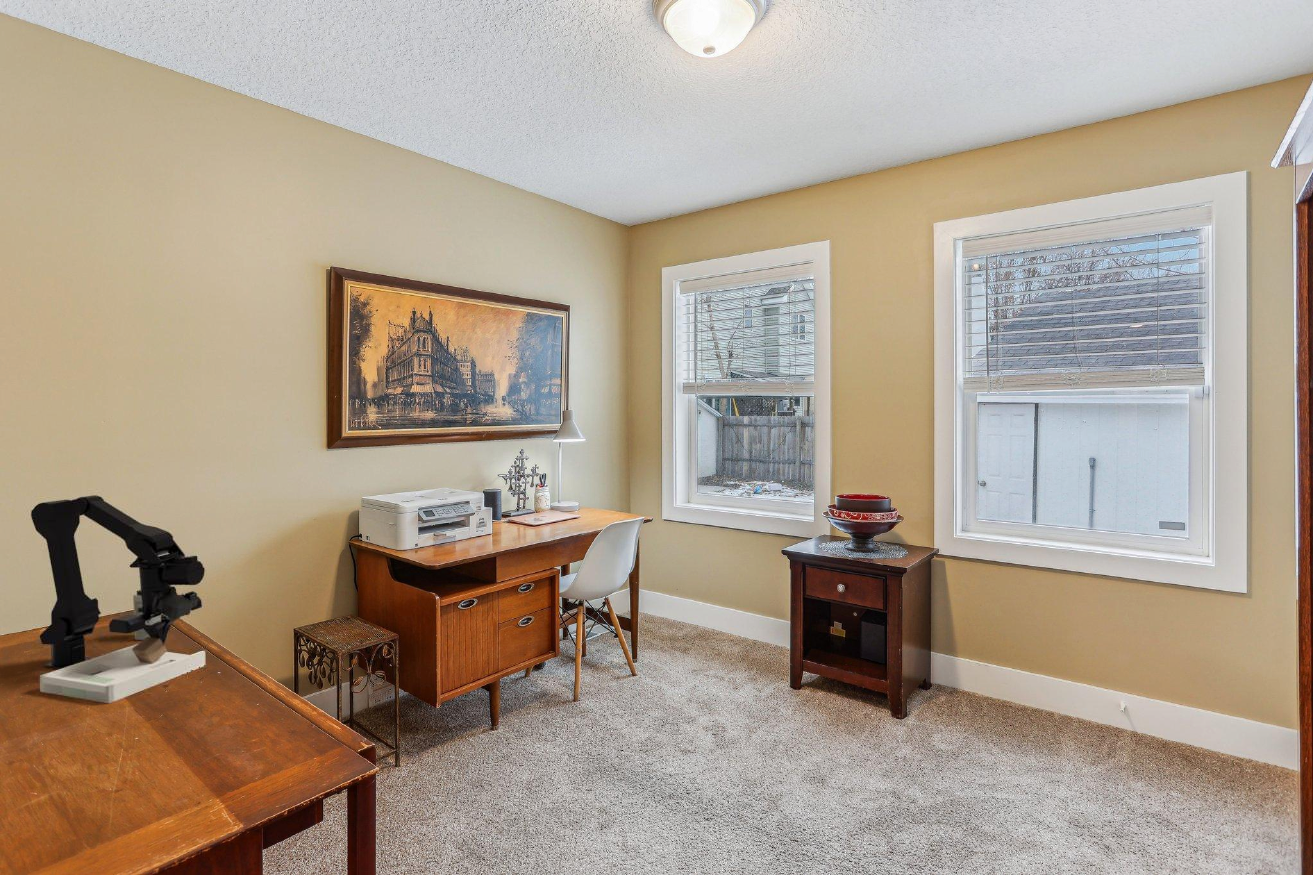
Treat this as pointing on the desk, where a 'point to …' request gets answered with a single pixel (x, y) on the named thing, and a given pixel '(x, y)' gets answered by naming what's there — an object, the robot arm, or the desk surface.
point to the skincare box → (137, 600)
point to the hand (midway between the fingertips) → (160, 648)
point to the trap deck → (117, 675)
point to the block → (149, 650)
